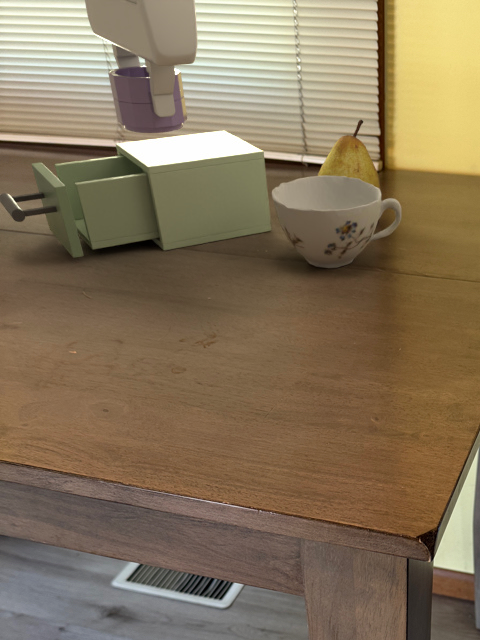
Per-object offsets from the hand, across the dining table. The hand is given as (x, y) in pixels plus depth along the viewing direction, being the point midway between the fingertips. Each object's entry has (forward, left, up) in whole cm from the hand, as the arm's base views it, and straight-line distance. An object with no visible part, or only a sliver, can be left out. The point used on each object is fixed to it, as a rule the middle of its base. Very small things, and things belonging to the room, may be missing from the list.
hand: (150, 107), depth 71 cm
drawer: (-3, +21, -17) cm, 27 cm away
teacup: (+20, +1, -19) cm, 27 cm away
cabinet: (+10, +21, -18) cm, 30 cm away
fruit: (+28, +13, -19) cm, 36 cm away
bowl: (0, 0, -2) cm, 2 cm away
